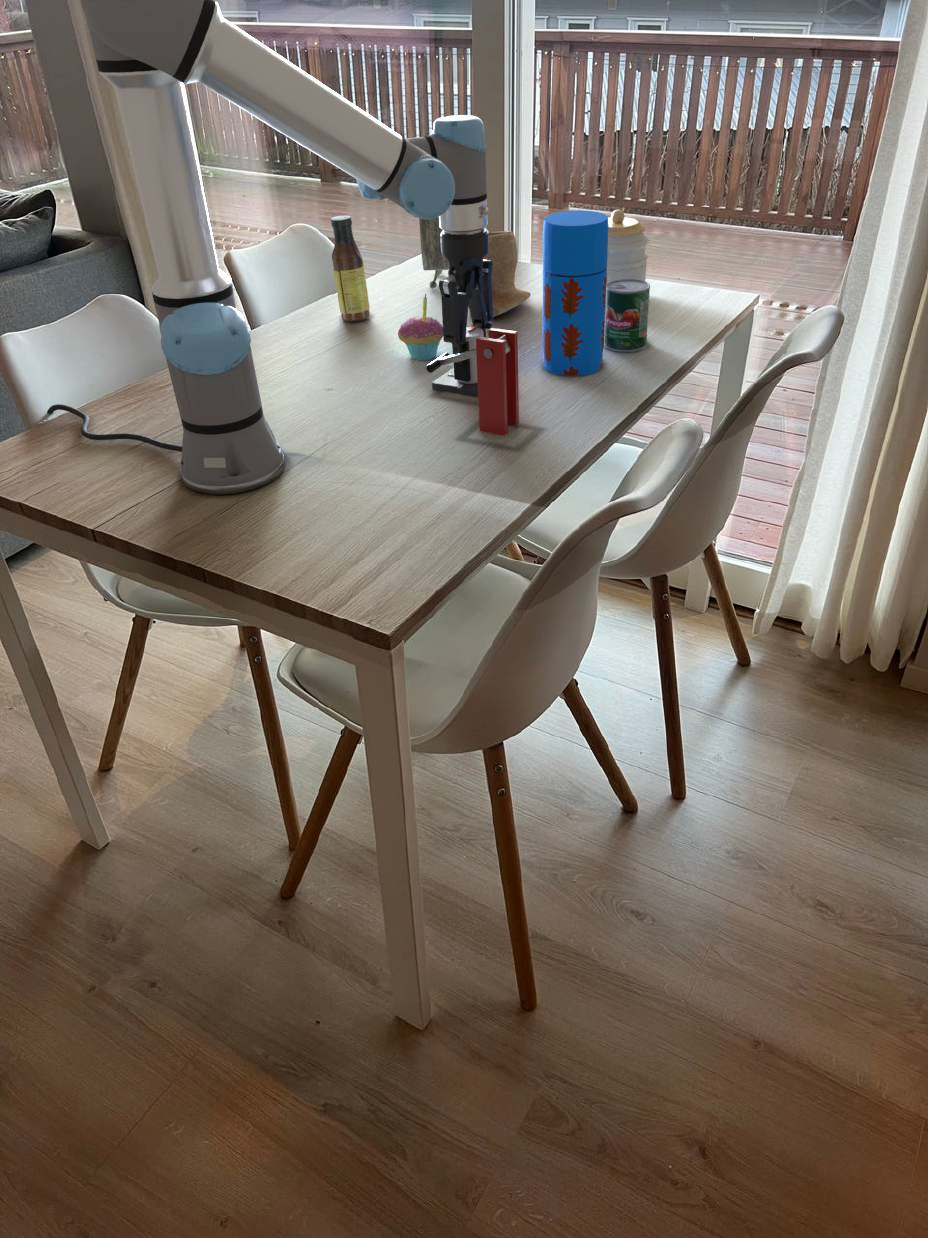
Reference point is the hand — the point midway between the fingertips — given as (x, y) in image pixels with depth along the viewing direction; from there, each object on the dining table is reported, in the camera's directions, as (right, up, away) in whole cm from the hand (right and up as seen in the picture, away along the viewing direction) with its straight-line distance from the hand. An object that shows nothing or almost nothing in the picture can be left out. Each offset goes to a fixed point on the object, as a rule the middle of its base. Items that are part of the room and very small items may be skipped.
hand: (471, 373), depth 157 cm
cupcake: (-9, +8, +18) cm, 21 cm away
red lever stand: (+4, -13, -12) cm, 18 cm away
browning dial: (0, -1, +1) cm, 1 cm away
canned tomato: (+29, +10, +17) cm, 35 cm away
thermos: (+18, +4, +10) cm, 21 cm away
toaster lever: (0, -3, -17) cm, 17 cm away
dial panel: (0, -3, +2) cm, 3 cm away
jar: (+31, +26, +39) cm, 56 cm away
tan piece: (+6, +24, +38) cm, 45 cm away
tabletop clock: (-5, +36, +55) cm, 66 cm away
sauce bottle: (-24, +21, +38) cm, 50 cm away
